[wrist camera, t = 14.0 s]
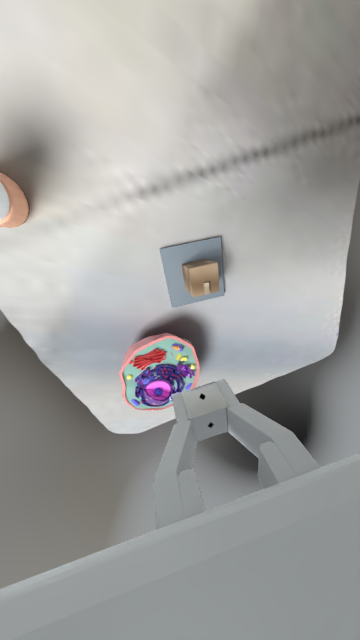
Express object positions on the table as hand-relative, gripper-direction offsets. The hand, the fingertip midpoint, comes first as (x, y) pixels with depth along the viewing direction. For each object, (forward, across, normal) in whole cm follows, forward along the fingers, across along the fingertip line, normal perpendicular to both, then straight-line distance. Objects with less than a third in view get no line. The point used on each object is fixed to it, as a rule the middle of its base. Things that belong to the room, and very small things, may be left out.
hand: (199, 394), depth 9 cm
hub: (+29, -8, 0) cm, 30 cm away
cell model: (+29, +4, +18) cm, 35 cm away
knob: (+28, -8, 0) cm, 29 cm away
